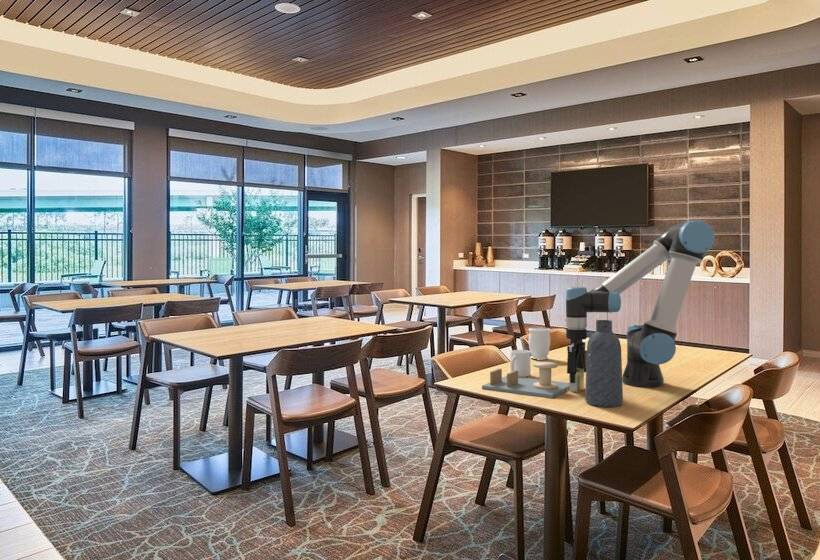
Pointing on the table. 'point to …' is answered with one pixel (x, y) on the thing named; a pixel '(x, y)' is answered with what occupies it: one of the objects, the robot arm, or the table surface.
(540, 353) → the jar
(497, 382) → the board
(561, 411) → the table surface
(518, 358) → the mug
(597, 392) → the vase
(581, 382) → the beige upright block
